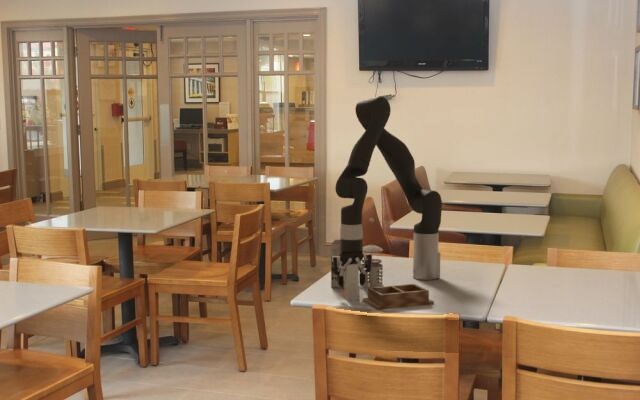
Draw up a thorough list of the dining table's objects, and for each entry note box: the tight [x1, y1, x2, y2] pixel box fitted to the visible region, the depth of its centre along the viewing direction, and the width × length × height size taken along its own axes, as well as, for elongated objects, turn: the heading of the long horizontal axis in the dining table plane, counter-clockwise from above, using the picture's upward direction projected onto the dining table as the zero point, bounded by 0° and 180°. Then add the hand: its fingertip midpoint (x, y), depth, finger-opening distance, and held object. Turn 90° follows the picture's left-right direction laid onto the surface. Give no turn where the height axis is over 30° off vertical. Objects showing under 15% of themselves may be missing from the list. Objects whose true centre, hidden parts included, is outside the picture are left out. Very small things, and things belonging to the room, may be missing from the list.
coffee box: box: [330, 239, 345, 289], centre depth 275 cm, size 9×6×16 cm
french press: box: [359, 217, 384, 292], centre depth 270 cm, size 10×12×25 cm
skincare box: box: [344, 264, 360, 301], centre depth 256 cm, size 6×4×12 cm
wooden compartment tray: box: [362, 283, 435, 311], centre depth 251 cm, size 20×12×4 cm, turn 110°
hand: (351, 285), depth 257 cm, fingers open, 7 cm apart
